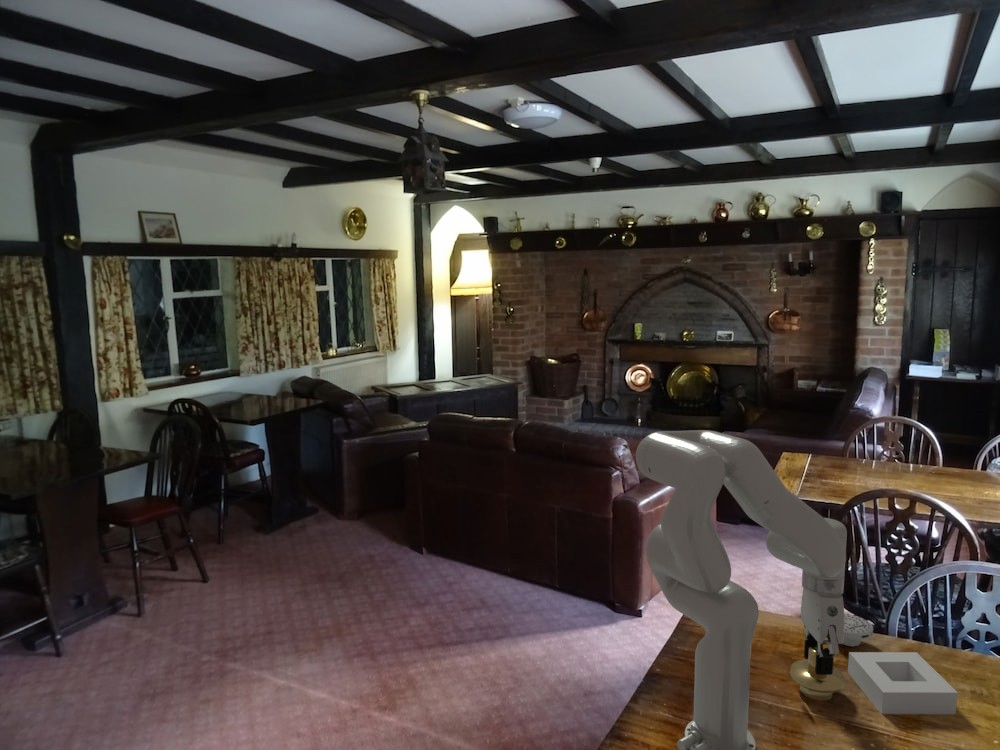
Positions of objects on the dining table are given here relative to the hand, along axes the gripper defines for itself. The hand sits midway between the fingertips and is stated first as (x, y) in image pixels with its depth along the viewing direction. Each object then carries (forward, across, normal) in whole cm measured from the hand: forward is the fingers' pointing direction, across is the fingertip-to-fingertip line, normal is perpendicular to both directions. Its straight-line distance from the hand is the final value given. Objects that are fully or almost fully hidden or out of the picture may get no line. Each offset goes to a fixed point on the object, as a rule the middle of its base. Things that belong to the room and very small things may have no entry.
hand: (817, 665), depth 140 cm
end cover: (+7, 0, 0) cm, 7 cm away
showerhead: (+7, +19, -15) cm, 25 cm away
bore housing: (+7, 0, -16) cm, 18 cm away
